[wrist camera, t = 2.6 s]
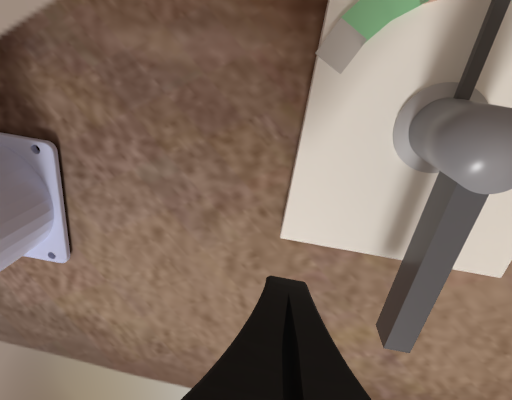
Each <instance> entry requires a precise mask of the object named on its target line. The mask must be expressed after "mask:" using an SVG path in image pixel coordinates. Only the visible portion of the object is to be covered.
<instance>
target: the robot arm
mask: <svg viewBox="0 0 512 400" xmlns="http://www.w3.org/2000/svg"><path fill="white" fill-rule="evenodd" d="M36 145H37V146H38V147H39V149H40V152H39V151H38V150H37V148H36ZM53 253H54V254H55V255H54V254H53ZM22 256H26V257H31V258H37V259H42V260H47V261H53V262H58V263H65V262H66V261H68V260H69V258H70V249H69V241H68V232H67V224H66V216H65V208H64V200H63V192H62V184H61V176H60V168H59V160H58V152H57V148H56V146H55V145H54V144H53V143H52V142H50V141H47V140H41V139H36V138H30V137H24V136H18V135H13V134H7V133H1V132H0V271H2V270H3V269H5V268H6V267H7V266H9V265H10V264H12V263H13V262H15V261H16V260H17V259H19V258H20V257H22ZM181 400H371V398H370V397H369V396H368V394H367V393H366V391H365V390H364V389H363V387H362V386H361V384H360V383H359V382H358V380H357V379H356V377H355V376H354V374H353V373H352V371H351V370H350V368H349V367H348V365H347V364H346V362H345V360H344V359H343V357H342V355H341V354H340V352H339V350H338V349H337V347H336V345H335V344H334V342H333V340H332V338H331V336H330V335H329V333H328V331H327V329H326V327H325V325H324V323H323V321H322V319H321V317H320V315H319V313H318V311H317V309H316V306H315V304H314V302H313V300H312V297H311V295H310V292H309V290H308V287H307V285H306V283H305V282H302V281H296V280H291V279H286V278H280V277H275V276H269V277H267V278H266V283H265V287H264V290H263V292H262V294H261V297H260V299H259V301H258V303H257V305H256V306H255V308H254V310H253V312H252V314H251V315H250V317H249V319H248V320H247V322H246V323H245V325H244V326H243V328H242V329H241V331H240V332H239V334H238V335H237V337H236V338H235V340H234V341H233V342H232V344H231V345H230V346H229V348H228V349H227V350H226V351H225V353H224V354H223V355H222V356H221V358H220V359H219V360H218V361H217V362H216V363H215V365H214V366H213V367H212V368H211V369H210V370H209V371H208V373H207V374H206V375H205V376H204V377H203V378H202V379H201V380H200V381H199V382H198V383H197V384H196V385H195V386H194V387H193V388H192V389H191V390H190V391H189V392H188V393H187V394H186V395H185V396H184V397H183V398H182V399H181Z"/></svg>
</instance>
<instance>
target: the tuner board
mask: <svg viewBox="0 0 512 400" xmlns="http://www.w3.org/2000/svg"><path fill="white" fill-rule="evenodd" d="M490 3H491V0H328V2H327V7H326V12H325V17H324V22H323V27H322V32H321V36H320V41H319V46H318V50H317V51H316V53H315V54H316V55H317V56H316V61H315V66H314V70H313V75H312V80H311V85H310V90H309V95H308V99H307V104H306V109H305V114H304V119H303V124H302V129H301V133H300V138H299V143H298V148H297V153H296V158H295V163H294V167H293V172H292V177H291V182H290V187H289V192H288V196H287V201H286V206H285V211H284V216H283V221H282V226H281V233H280V238H283V239H288V240H294V241H300V242H305V243H311V244H316V245H322V246H327V247H333V248H338V249H344V250H349V251H355V252H360V253H366V254H371V255H377V256H382V257H388V258H393V259H399V260H403V258H404V256H405V253H406V251H407V248H408V246H409V244H410V241H411V239H412V236H413V234H414V232H415V229H416V227H417V224H418V222H419V219H420V217H421V215H422V212H423V210H424V207H425V205H426V203H427V200H428V198H429V195H430V193H431V190H432V188H433V186H434V183H435V181H436V178H437V176H438V174H439V170H438V169H436V168H435V167H434V166H432V165H431V164H429V163H428V162H426V161H425V160H423V159H422V158H420V157H419V156H418V155H417V154H416V153H415V152H414V151H413V150H412V148H411V146H410V143H409V129H410V125H411V123H412V121H413V119H414V117H415V116H416V115H417V113H418V112H419V111H420V110H421V109H422V108H423V107H425V106H426V105H427V104H429V103H431V102H433V101H435V100H438V99H441V98H448V97H452V98H453V97H454V95H455V92H456V90H457V87H458V84H459V82H460V79H461V77H462V74H463V72H464V69H465V67H466V64H467V62H468V59H469V56H470V54H471V51H472V49H473V46H474V44H475V41H476V39H477V36H478V34H479V31H480V28H481V26H482V23H483V21H484V18H485V16H486V13H487V11H488V8H489V6H490ZM470 101H476V102H481V103H487V104H492V105H498V106H504V107H509V108H512V0H511V1H510V4H509V6H508V9H507V11H506V13H505V16H504V18H503V21H502V23H501V25H500V28H499V30H498V33H497V35H496V38H495V40H494V42H493V45H492V47H491V50H490V52H489V54H488V57H487V59H486V62H485V64H484V66H483V69H482V71H481V74H480V76H479V79H478V81H477V83H476V86H475V88H474V91H473V93H472V95H471V98H470ZM511 260H512V189H511V190H508V191H505V192H502V193H497V194H489V196H488V198H487V200H486V202H485V204H484V206H483V208H482V210H481V212H480V214H479V216H478V218H477V220H476V222H475V224H474V226H473V228H472V230H471V232H470V234H469V236H468V238H467V240H466V242H465V244H464V246H463V248H462V250H461V252H460V254H459V256H458V258H457V260H456V262H455V264H454V266H453V268H452V269H454V270H460V271H465V272H471V273H476V274H482V275H487V276H493V277H498V278H501V277H502V275H503V274H504V272H505V270H506V268H507V267H508V265H509V263H510V262H511Z"/></svg>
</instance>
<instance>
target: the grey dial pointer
mask: <svg viewBox="0 0 512 400" xmlns="http://www.w3.org/2000/svg"><path fill="white" fill-rule="evenodd" d="M510 1H511V0H491V3H490V6H489V8H488V11H487V13H486V16H485V18H484V21H483V23H482V26H481V28H480V31H479V34H478V36H477V39H476V41H475V44H474V46H473V49H472V51H471V54H470V56H469V59H468V62H467V64H466V67H465V69H464V72H463V74H462V77H461V79H460V82H459V84H458V87H457V90H456V92H455V95H454V97H453V98H452V97H448V98H441V99H438V100H435V101H433V102H431V103H429V104H427V105H426V106H425V107H423V108H422V109H421V110H420V111H419V112H418V113H417V115H416V116H415V117H414V119H413V121H412V123H411V125H410V129H409V143H410V146H411V148H412V150H413V151H414V152H415V153H416V154H417V155H418V156H419V157H420V158H422V159H423V160H425V161H426V162H428V163H429V164H431V165H432V166H434V167H435V168H436V169H438V170H439V174H438V176H437V178H436V181H435V183H434V186H433V188H432V190H431V193H430V195H429V198H428V200H427V203H426V205H425V207H424V210H423V212H422V215H421V217H420V219H419V222H418V224H417V227H416V229H415V232H414V234H413V236H412V239H411V241H410V244H409V246H408V248H407V251H406V253H405V256H404V258H403V260H402V263H401V265H400V268H399V270H398V273H397V275H396V277H395V280H394V282H393V285H392V287H391V289H390V292H389V294H388V297H387V299H386V302H385V304H384V306H383V309H382V311H381V314H380V316H379V318H378V321H377V323H376V327H377V330H378V333H379V336H380V339H381V342H382V345H383V348H386V349H391V350H396V351H401V352H406V353H410V352H411V350H412V348H413V346H414V344H415V342H416V340H417V338H418V336H419V334H420V332H421V330H422V328H423V326H424V324H425V322H426V320H427V318H428V316H429V314H430V312H431V310H432V308H433V306H434V304H435V302H436V300H437V298H438V296H439V294H440V292H441V290H442V288H443V286H444V284H445V282H446V280H447V278H448V276H449V274H450V272H451V270H452V268H453V266H454V264H455V262H456V260H457V258H458V256H459V254H460V252H461V250H462V248H463V246H464V244H465V242H466V240H467V238H468V236H469V234H470V232H471V230H472V228H473V226H474V224H475V222H476V220H477V218H478V216H479V214H480V212H481V210H482V208H483V206H484V204H485V202H486V200H487V198H488V196H489V194H497V193H502V192H505V191H508V190H511V189H512V108H509V107H504V106H498V105H492V104H487V103H481V102H476V101H470V98H471V95H472V93H473V91H474V88H475V86H476V83H477V81H478V79H479V76H480V74H481V71H482V69H483V66H484V64H485V62H486V59H487V57H488V54H489V52H490V50H491V47H492V45H493V42H494V40H495V38H496V35H497V33H498V30H499V28H500V25H501V23H502V21H503V18H504V16H505V13H506V11H507V9H508V6H509V4H510Z"/></svg>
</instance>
